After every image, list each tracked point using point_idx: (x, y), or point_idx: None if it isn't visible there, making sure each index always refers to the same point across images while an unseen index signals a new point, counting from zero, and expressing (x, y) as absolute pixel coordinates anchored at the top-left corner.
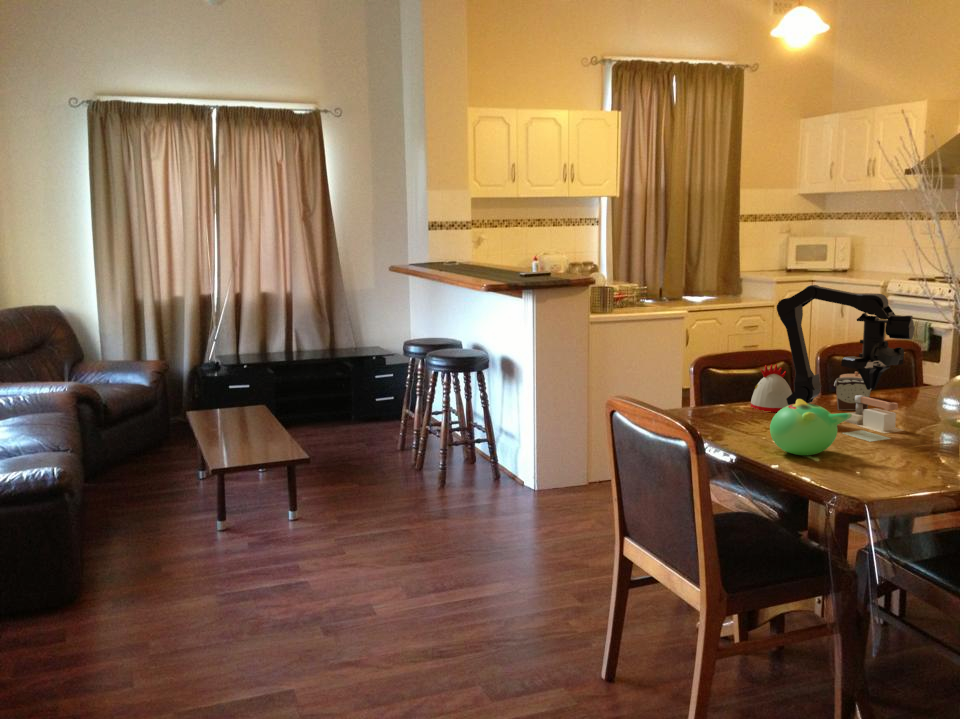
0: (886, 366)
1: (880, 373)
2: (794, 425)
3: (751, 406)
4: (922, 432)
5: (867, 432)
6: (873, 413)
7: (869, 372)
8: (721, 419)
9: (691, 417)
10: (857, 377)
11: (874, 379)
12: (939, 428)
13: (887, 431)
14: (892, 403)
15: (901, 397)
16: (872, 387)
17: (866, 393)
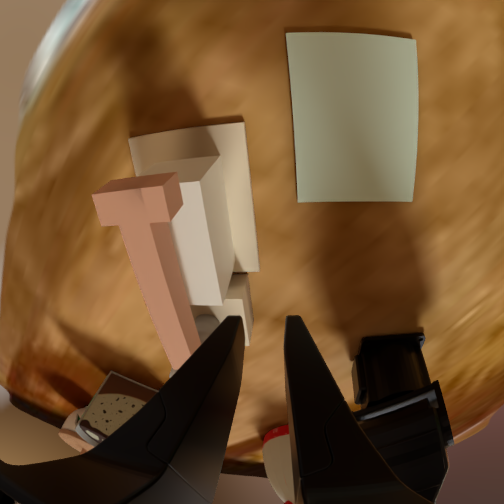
0: (19, 498)
1: (133, 448)
2: None
3: None
4: (79, 113)
5: (307, 161)
6: (214, 247)
7: (408, 493)
8: (475, 402)
9: (489, 414)
10: (86, 446)
11: (217, 404)
12: (16, 153)
13: (207, 143)
14: (121, 206)
15: (29, 378)
16: (241, 340)
17: (98, 405)
